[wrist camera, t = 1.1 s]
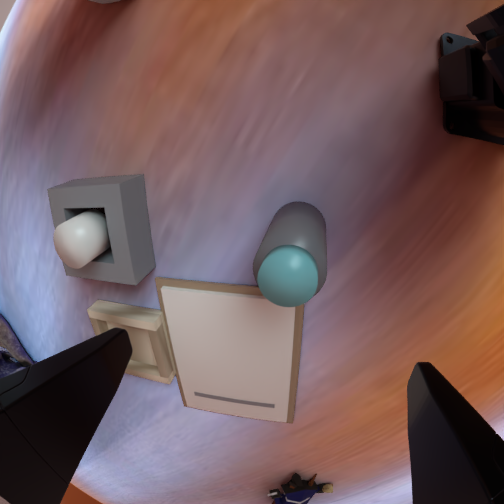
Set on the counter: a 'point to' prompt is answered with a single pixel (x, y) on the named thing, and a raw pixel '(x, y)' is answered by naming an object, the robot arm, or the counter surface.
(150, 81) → the counter surface
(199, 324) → the white flat rectangular panel
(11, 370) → the decorative skull
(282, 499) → the toy
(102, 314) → the holder tray
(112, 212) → the button housing
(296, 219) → the marker
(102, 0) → the coffee cup
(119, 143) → the counter surface
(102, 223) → the button
